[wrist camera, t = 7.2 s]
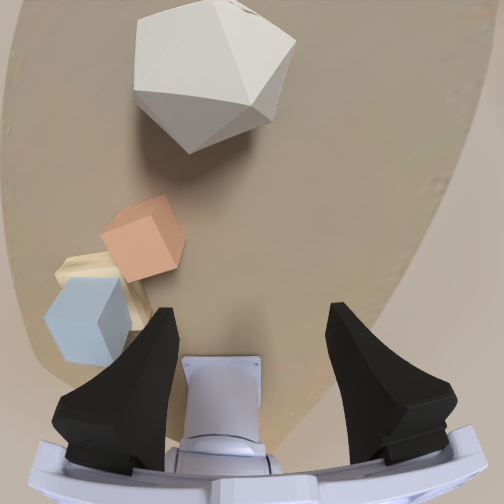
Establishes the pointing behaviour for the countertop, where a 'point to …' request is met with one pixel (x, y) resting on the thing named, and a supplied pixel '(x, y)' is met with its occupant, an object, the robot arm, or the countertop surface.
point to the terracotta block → (145, 239)
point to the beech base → (107, 268)
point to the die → (209, 71)
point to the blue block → (90, 320)
